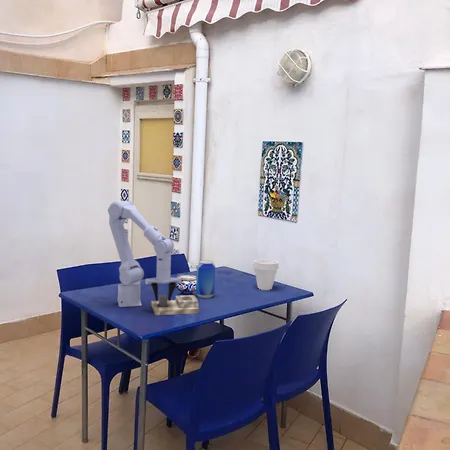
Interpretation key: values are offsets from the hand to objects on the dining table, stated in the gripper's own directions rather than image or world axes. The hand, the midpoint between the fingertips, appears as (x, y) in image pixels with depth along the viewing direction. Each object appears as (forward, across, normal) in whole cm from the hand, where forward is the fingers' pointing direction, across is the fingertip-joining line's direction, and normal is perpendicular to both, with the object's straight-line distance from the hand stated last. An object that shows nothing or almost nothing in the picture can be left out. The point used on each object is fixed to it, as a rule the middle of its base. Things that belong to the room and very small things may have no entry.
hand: (162, 300), depth 213 cm
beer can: (+4, +22, +18) cm, 29 cm away
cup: (+4, +54, +27) cm, 61 cm away
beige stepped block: (+4, +5, 0) cm, 6 cm away
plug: (+4, 0, 0) cm, 4 cm away
